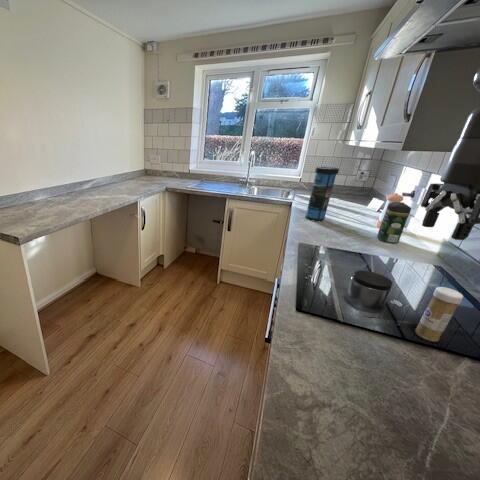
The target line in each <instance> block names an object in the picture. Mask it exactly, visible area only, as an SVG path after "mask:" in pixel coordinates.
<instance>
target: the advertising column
mask: <svg viewBox="0 0 480 480" xmlns="http://www.w3.org/2000/svg"><path fill="white" fill-rule="evenodd" d="M339 170H340V168H338V167H332V166H331V167H330V166H316V167H315V170H314V173H315V176H314V179H313V183H312V189H311V191H310V196H309V197H310V198H309V200H308V205H307V209H306V213H305V217H304V218H305V219H306V218H307V219H306V220H308V219H309V220H308V221H311V220H314V221H313V222H319V221H320V222H324V221H325V217H326V214H327V210H328V207H329V203H330V200H331V195H332V192H333V188H334V184H335V181H336V177H337V175H338V174H339ZM323 220H324V221H323Z"/></svg>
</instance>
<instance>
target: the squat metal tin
mask: <svg viewBox="0 0 480 480" xmlns="http://www.w3.org/2000/svg"><path fill="white" fill-rule="evenodd" d="M392 290H393V281H392V280H391V279H390V278H388V277H387V276H385V275H382V274H380V273H377V272H374V271H370V270H356V271H354V272H353V274H352V275H351V277H350V279H349V283H348V285H347V288H346V292H345V294H344V297H343V298H344V301H345V302H346V303H347V305H349V306H350V307H353V308H354V309H356V310H358V311H362V312H364V313H368V314H381V313H382V312H383V311H384V309H385V307H386V305H387V302H388V300H389V297H390V295H391V292H392ZM362 317H364V318H366V316H364V315H363V316H362ZM367 318H369V319H376V318H377V317H376V316H367Z"/></svg>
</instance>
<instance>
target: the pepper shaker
mask: <svg viewBox="0 0 480 480" xmlns="http://www.w3.org/2000/svg"><path fill="white" fill-rule="evenodd" d="M385 199H386V202H385V204H384V208H383V209H382V211H381V213H380V215H379V218H378V219H377V220H376V223H375V227H377V228H379V229H380V226H381V224H382V221H383V218H384V215H385V212H386V209H387V207H388V204H389V203H392V202H403V201H404V197H403V196H402V195H401V194H399V193H397V192H395V193H392V194H391V193H390V194H388V195H386V196H385Z"/></svg>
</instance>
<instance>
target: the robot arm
mask: <svg viewBox="0 0 480 480" xmlns="http://www.w3.org/2000/svg"><path fill="white" fill-rule="evenodd" d="M472 85H473V87H474V89H476V91H478V92H480V67H479V68H478V70H477V71H476V72H475V74H474V76H473V80H472ZM448 157H449V158H447V159H448V160H447V162H446V164H445V167H444V169H443V172H442V174H441V177H440V182H442V183H430V184H429V186H428V189H427V190H426V192H425V195H424V196H423V198H422V201H421V203H420V207H421V208H424V210H425V212H426V213H425V214H424V217H423V220H422V223H421V226H422V227H424V228H434V227H435V225H436V223H437V221H438V219H439V216H440V214H441V213H440V212H441V211H442V210H444V209H445V208H450V209H452V210H454V213H455V214H456V215H457V217H458V221H459V222H457V224H456V226H455V228H454V230H453V232H452V234H451V239H453V240H456V241H464V240H466V239H467V238H468V237H469V236H470V233H471V232H472V230H473V227H474V226H475V225H480V107H478V108H475V109H474V110H472V111H471V112H470V114H468V116H467V118H466V120H465V123H464V125H463V127H462V130H461V132H460V134H459V137H458V139H457V141H456V143H455V144H454V146H453V148H452V150H451V152H450V154H449V156H448ZM430 200H431V201H430ZM467 215H468V216H467Z"/></svg>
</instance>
